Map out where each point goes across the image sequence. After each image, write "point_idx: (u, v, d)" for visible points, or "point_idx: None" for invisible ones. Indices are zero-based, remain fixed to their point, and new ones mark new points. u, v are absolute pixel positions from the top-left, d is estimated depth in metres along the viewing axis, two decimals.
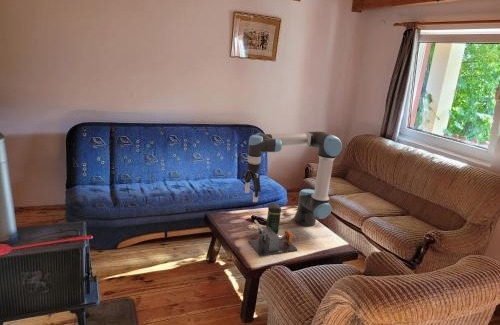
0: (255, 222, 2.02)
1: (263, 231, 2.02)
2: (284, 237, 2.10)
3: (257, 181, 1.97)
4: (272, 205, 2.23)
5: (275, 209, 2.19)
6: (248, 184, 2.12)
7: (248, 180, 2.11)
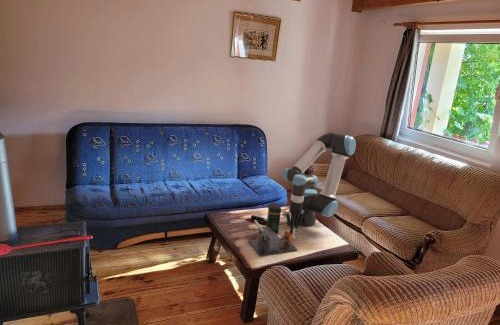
0: (255, 222, 2.02)
1: (263, 231, 2.02)
2: (284, 237, 2.10)
3: (287, 218, 2.09)
4: (272, 205, 2.23)
5: (275, 209, 2.19)
6: None
7: (295, 223, 2.12)
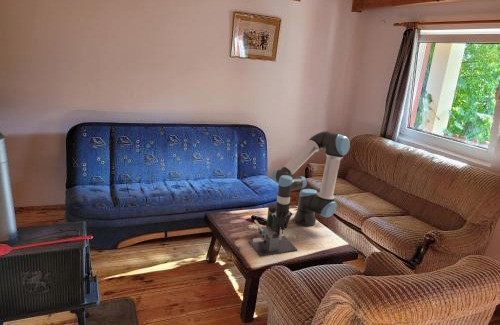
0: (255, 222, 2.02)
1: (263, 231, 2.02)
2: None
3: (273, 220, 2.05)
4: (272, 205, 2.23)
5: (275, 209, 2.19)
6: None
7: (281, 225, 2.08)
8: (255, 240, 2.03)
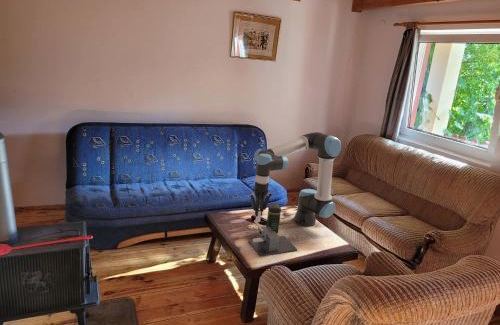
0: (255, 222, 2.02)
1: (263, 231, 2.02)
2: None
3: (251, 201, 1.96)
4: (272, 205, 2.23)
5: (275, 209, 2.19)
6: None
7: (260, 206, 1.99)
8: (255, 240, 2.03)
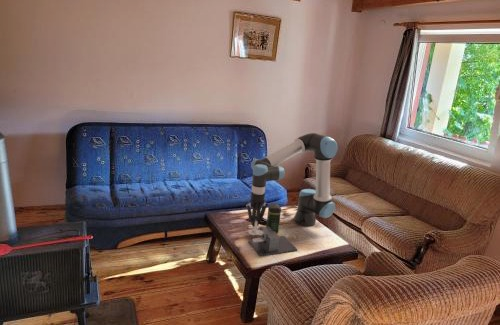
0: None
1: (261, 234, 2.02)
2: None
3: (248, 211, 1.97)
4: (272, 205, 2.23)
5: (275, 209, 2.19)
6: None
7: (257, 216, 2.00)
8: (255, 240, 2.03)
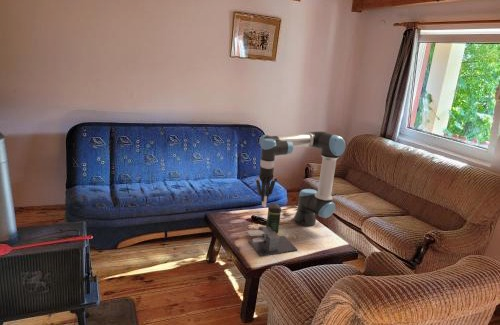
0: None
1: (261, 234, 2.02)
2: None
3: (257, 186, 1.96)
4: (272, 205, 2.23)
5: (275, 209, 2.19)
6: None
7: (266, 191, 2.00)
8: (255, 240, 2.03)
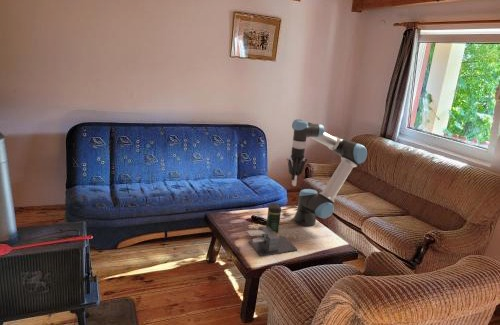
0: None
1: (261, 234, 2.02)
2: None
3: (289, 165, 2.09)
4: (272, 205, 2.23)
5: (275, 209, 2.19)
6: None
7: (296, 171, 2.12)
8: (255, 240, 2.03)
